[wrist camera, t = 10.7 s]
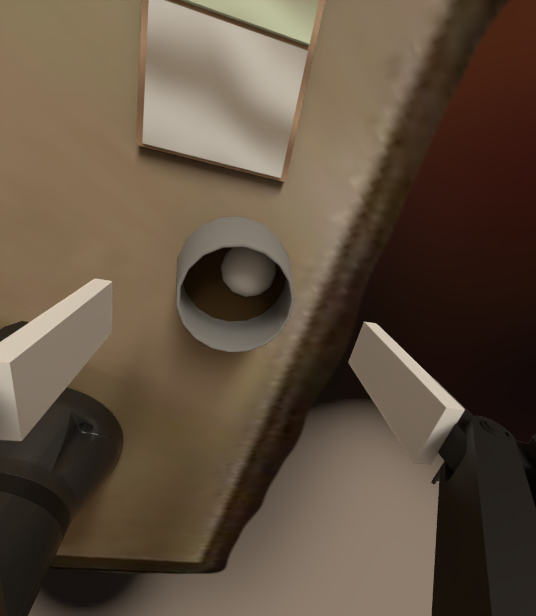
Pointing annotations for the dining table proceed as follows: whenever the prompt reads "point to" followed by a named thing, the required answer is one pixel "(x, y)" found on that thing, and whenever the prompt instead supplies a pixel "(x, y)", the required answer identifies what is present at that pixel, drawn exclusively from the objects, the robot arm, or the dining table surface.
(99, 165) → the dining table surface
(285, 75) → the green and white board
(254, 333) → the cup
